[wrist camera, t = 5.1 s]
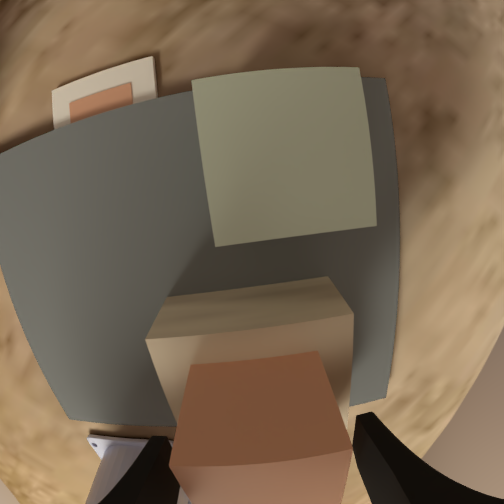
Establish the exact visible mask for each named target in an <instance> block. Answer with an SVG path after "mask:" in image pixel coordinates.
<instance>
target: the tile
mask: <svg viewBox="0 0 504 504" xmlns="http://www.w3.org/2000/svg"><path fill="white" fill-rule="evenodd" d="M155 98H158V91H157V81H156V70H155V59H154V57H153V56H150V57H147V58H143V59H139V60H136V61H132V62H129V63H125V64H122V65H119V66H116V67H113V68H109V69H106V70H104V71H101V72H98V73H95V74H92V75H89V76H87V77H84V78H81V79H79V80H76V81H74V82H71V83H69V84H66V85H64V86H62V87H59V88H57V89H55V90H52V107H53V123H54V130H55V129H58V128H60V127H63V126H66V125H68V124H71V123H74V122H77V121H80V120H82V119H85V118H88V117H91V116H94V115H97V114H101V113H104V112H107V111H110V110H114V109H117V108H121V107H124V106H128V105H131V104H135V103H139V102H143V101H147V100H151V99H155Z"/></svg>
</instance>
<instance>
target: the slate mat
mask: <svg viewBox="0 0 504 504" xmlns="http://www.w3.org/2000/svg"><path fill="white" fill-rule="evenodd" d="M361 80H362V86H363V92H364V98H365V104H366V111H367V118H368V125H369V133H370V141H371V150H372V160H373V171H374V184H375V199H376V219H377V226H372V227H364V228H356V229H348V230H340V231H333V232H325V233H317V234H309V235H302V236H294V237H286V238H279V239H271V240H264V241H256V242H249V243H241V244H234V245H226V246H219V247H215V242H214V236H213V230H212V224H211V217H210V211H209V205H208V198H207V192H206V185H205V179H204V172H203V165H202V158H201V151H200V144H199V137H198V129H197V122H196V114H195V106H194V98H193V91H188V92H183V93H178V94H173V95H168V96H164V97H159V98H155V99H151V100H147V101H143V102H139V103H135V104H131V105H128V106H124V107H121V108H117V109H114V110H110V111H107V112H104V113H101V114H97V115H94V116H91V117H88V118H85V119H82V120H80V121H77V122H74V123H71V124H68V125H66V126H63V127H60V128H58V129H55V130H53V131H50V132H48V133H45V134H43V135H40V136H38V137H36V138H33V139H31V140H29V141H26V142H24V143H22V144H20V145H17V146H15V147H13V148H11V149H9V150H7V151H5V152H3V153H1V154H0V265H1V269H2V272H3V275H4V279H5V282H6V285H7V288H8V291H9V294H10V297H11V300H12V303H13V305H14V308H15V311H16V313H17V316H18V318H19V321H20V324H21V326H22V328H23V331H24V333H25V336H26V338H27V340H28V342H29V345H30V347H31V349H32V351H33V353H34V356H35V358H36V360H37V362H38V364H39V366H40V368H41V370H42V372H43V374H44V376H45V378H46V380H47V381H48V383H49V385H50V387H51V389H52V391H53V392H54V394H55V396H56V398H57V399H58V401H59V403H60V405H61V406H62V408H63V410H64V411H65V413H66V415H67V416H68V418H69V419H71V420H79V421H87V422H96V423H106V424H119V425H135V426H177V422H176V420H175V417H174V415H173V413H172V410H171V408H170V405H169V403H168V401H167V398H166V396H165V393H164V391H163V388H162V385H161V383H160V380H159V377H158V375H157V372H156V369H155V367H154V364H153V361H152V358H151V355H150V352H149V350H148V347H147V344H146V341H145V338H146V336H147V334H148V332H149V331H150V329H151V327H152V325H153V323H154V321H155V319H156V317H157V315H158V313H159V311H160V309H161V307H162V305H163V303H164V302H165V300H166V298H167V297H171V296H180V295H189V294H198V293H206V292H215V291H223V290H231V289H239V288H246V287H254V286H262V285H269V284H276V283H284V282H291V281H298V280H305V279H311V278H318V277H325V276H328V277H329V278H330V280H331V281H332V283H333V284H334V286H335V287H336V288H337V290H338V291H339V293H340V294H341V296H342V297H343V298H344V300H345V301H346V303H347V304H348V306H349V307H350V309H351V310H352V312H353V313H354V330H353V357H352V375H351V390H350V402H349V407H350V406H354V405H359V404H363V403H367V402H371V401H375V400H378V399H382V398H386V394H387V388H388V382H389V376H390V369H391V362H392V355H393V347H394V338H395V329H396V318H397V305H398V290H399V266H400V212H399V189H398V173H397V161H396V150H395V141H394V132H393V124H392V117H391V110H390V103H389V97H388V91H387V85H386V80H385V78H371V77H361Z"/></svg>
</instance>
